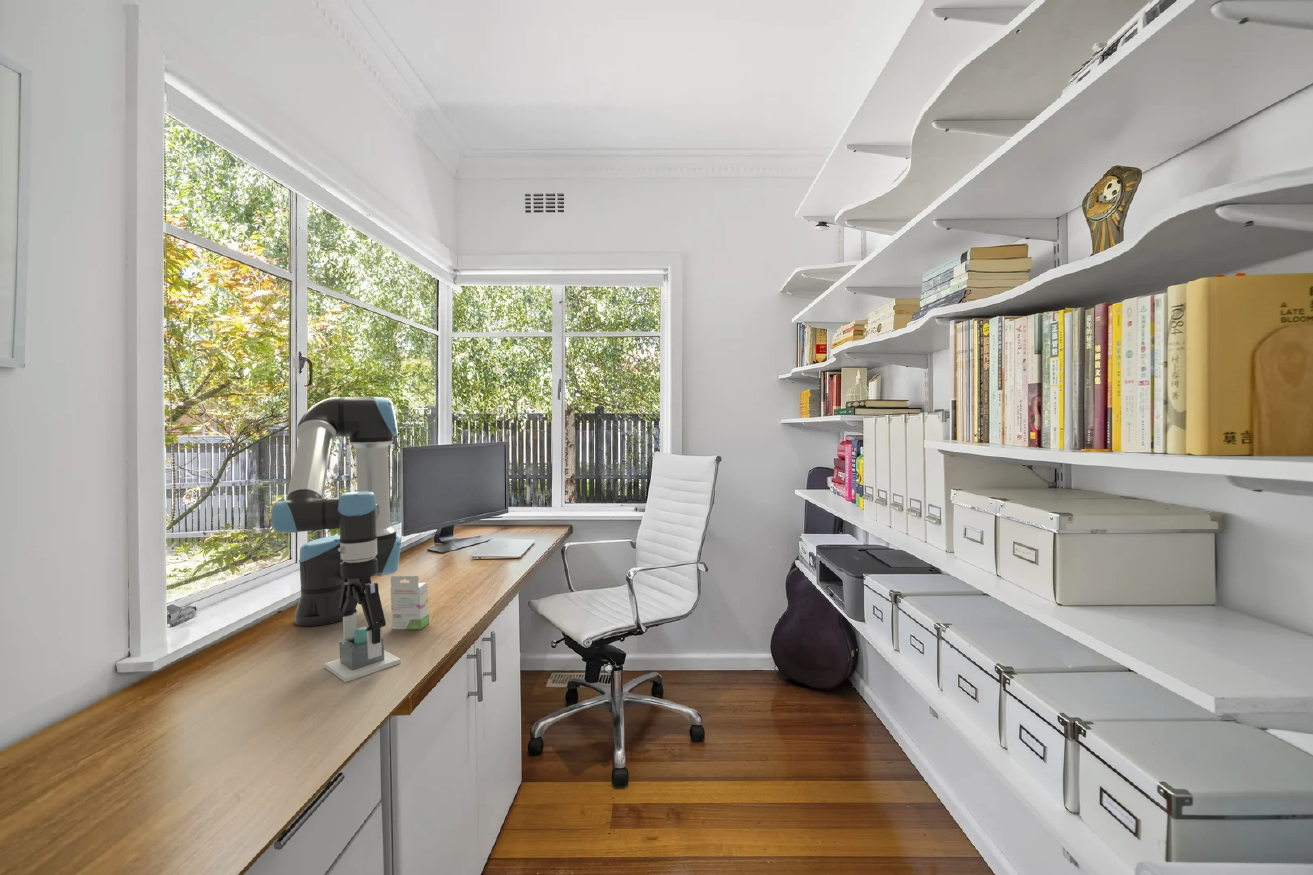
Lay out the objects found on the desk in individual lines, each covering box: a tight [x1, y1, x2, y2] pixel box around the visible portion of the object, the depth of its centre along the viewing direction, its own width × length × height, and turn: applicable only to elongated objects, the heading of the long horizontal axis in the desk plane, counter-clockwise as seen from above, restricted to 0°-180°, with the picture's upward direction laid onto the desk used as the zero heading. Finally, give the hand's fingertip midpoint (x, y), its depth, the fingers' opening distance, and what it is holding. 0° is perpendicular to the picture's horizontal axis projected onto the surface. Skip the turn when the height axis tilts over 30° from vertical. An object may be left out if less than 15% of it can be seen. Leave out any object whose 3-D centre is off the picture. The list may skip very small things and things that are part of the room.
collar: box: [338, 637, 385, 671], centre depth 128 cm, size 7×7×5 cm
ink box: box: [390, 575, 430, 630], centre depth 152 cm, size 9×5×15 cm, turn 84°
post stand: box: [324, 626, 401, 683], centre depth 128 cm, size 12×12×8 cm
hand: (362, 649), depth 128 cm, fingers open, 13 cm apart
